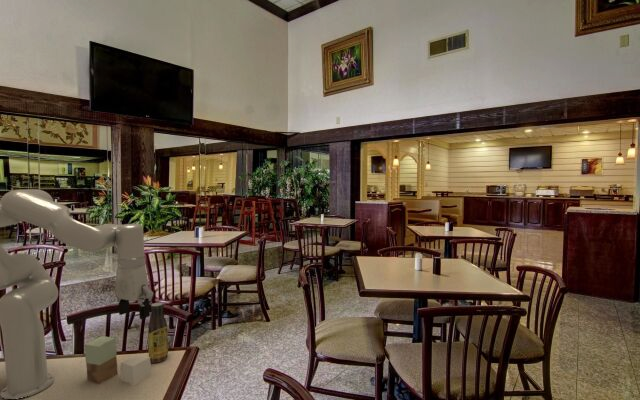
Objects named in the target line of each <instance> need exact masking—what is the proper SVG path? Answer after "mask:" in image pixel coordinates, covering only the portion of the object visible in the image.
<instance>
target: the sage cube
mask: <svg viewBox="0 0 640 400" xmlns="http://www.w3.org/2000/svg"><path fill="white" fill-rule="evenodd" d="M116 343H117V341H116V337H110V336H103V335H102V336H99V337H97V338H95V339H93V340H91V341H89V342H87V343H84V356H85V364H86V363H90V364H95V365H101V364H103V363H105V362H107V361H108V360H110V359H112V358H114V357H116V358H117V355H118V354H117V344H116Z"/></svg>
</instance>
